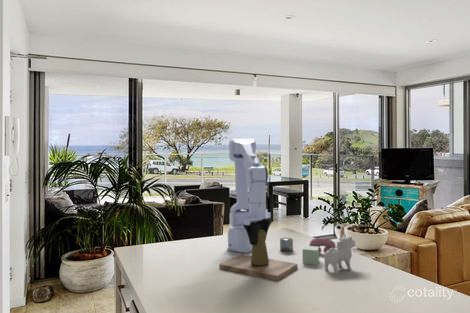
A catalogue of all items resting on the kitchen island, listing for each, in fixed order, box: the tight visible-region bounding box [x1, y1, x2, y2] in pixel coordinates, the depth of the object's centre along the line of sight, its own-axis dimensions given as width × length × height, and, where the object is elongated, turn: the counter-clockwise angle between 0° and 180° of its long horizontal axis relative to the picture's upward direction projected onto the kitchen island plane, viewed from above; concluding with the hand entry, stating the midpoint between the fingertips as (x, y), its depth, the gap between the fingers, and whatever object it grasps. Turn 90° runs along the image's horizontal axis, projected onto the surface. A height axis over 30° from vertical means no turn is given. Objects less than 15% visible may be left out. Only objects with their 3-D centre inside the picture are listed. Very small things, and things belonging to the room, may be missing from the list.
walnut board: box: [218, 253, 298, 282], centre depth 125 cm, size 22×14×2 cm, turn 56°
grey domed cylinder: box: [279, 237, 294, 253], centre depth 147 cm, size 5×5×4 cm
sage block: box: [302, 245, 320, 266], centre depth 131 cm, size 5×5×5 cm
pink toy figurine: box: [308, 237, 337, 254], centre depth 141 cm, size 10×5×7 cm, turn 72°
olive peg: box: [250, 229, 270, 265], centre depth 124 cm, size 6×6×11 cm
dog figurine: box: [323, 234, 356, 274], centre depth 123 cm, size 5×13×11 cm, turn 126°
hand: (258, 242), depth 125 cm, fingers closed on olive peg, 5 cm apart
